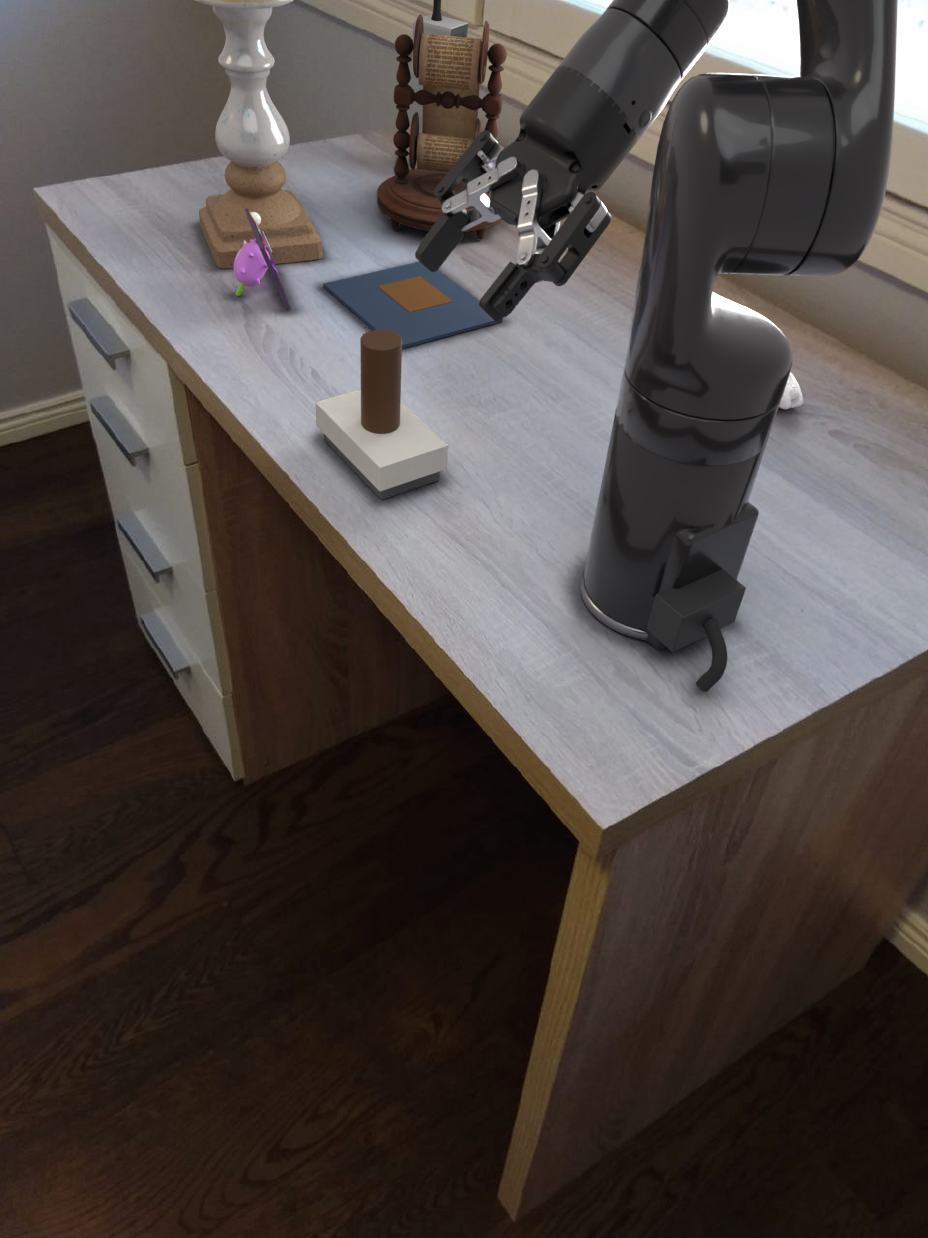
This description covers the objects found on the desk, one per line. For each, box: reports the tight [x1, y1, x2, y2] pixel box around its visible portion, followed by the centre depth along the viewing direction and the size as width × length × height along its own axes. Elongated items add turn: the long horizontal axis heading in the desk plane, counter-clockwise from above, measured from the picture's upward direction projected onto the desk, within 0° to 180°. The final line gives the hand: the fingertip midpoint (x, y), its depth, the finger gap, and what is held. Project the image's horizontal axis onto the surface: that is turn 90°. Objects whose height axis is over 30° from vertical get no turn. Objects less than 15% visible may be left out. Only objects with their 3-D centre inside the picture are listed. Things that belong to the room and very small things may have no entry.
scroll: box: [376, 14, 508, 241], centre depth 108 cm, size 15×15×20 cm
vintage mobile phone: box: [408, 0, 469, 170], centre depth 115 cm, size 4×5×25 cm
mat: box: [322, 261, 504, 350], centre depth 100 cm, size 14×12×1 cm
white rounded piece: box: [778, 371, 804, 410], centre depth 91 cm, size 3×8×3 cm, turn 17°
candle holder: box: [193, 0, 324, 269], centre depth 99 cm, size 11×11×24 cm
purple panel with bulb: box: [233, 208, 292, 311], centre depth 98 cm, size 7×5×9 cm
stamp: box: [314, 329, 449, 501], centre depth 77 cm, size 10×6×10 cm, turn 34°
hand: (454, 288), depth 75 cm, fingers open, 8 cm apart
